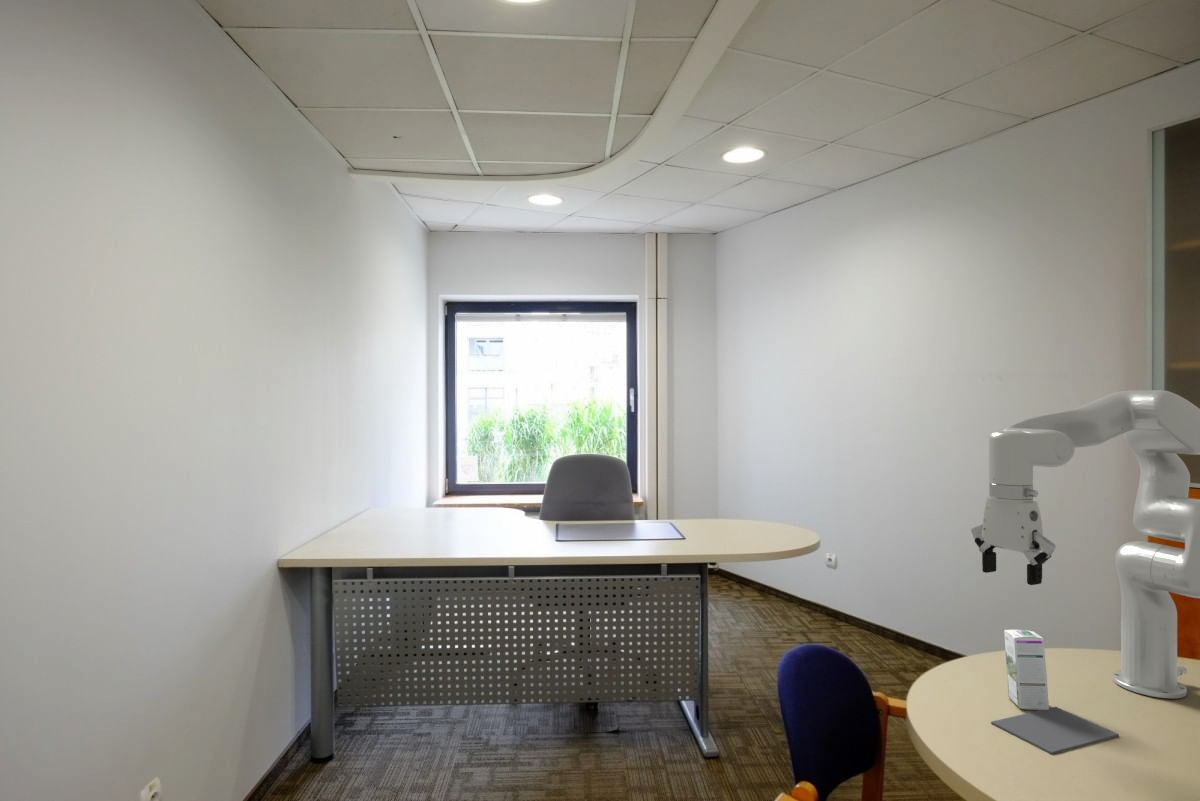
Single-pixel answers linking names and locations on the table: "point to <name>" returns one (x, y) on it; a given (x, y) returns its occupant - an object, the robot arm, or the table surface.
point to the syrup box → (1026, 669)
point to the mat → (1054, 730)
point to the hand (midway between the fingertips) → (1011, 577)
